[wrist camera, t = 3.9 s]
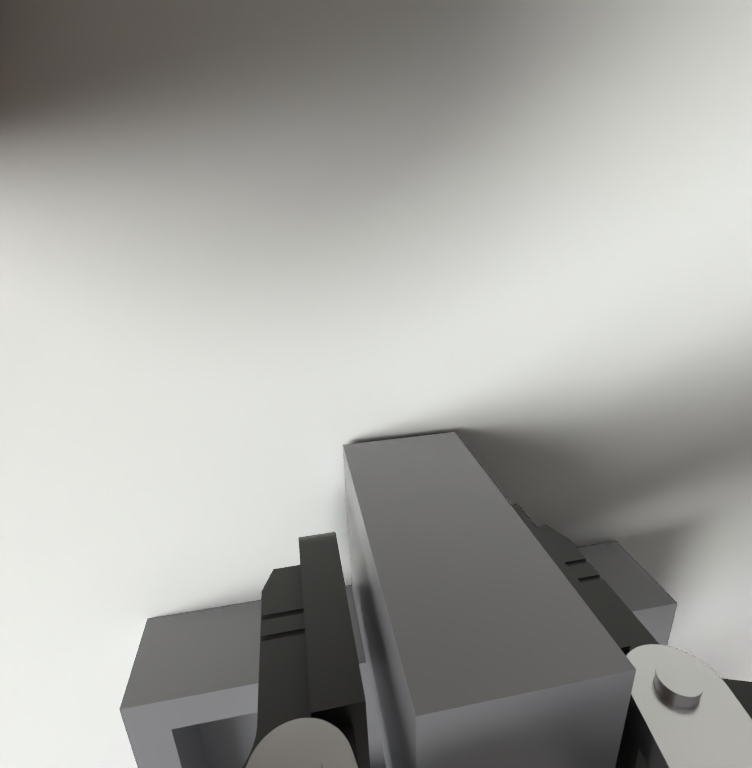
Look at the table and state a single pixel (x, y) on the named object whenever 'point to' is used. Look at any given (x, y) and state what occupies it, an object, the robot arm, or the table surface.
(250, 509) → the table surface
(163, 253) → the table surface
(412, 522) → the tray
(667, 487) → the table surface
